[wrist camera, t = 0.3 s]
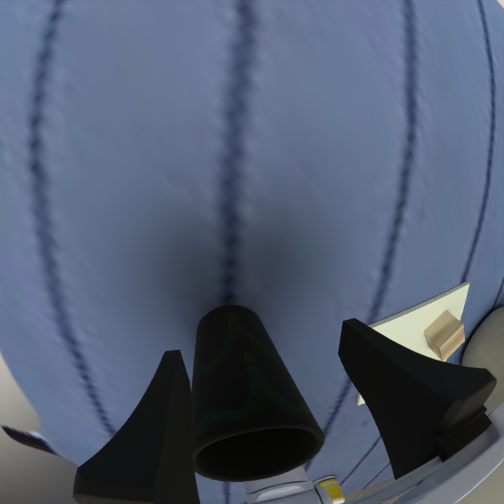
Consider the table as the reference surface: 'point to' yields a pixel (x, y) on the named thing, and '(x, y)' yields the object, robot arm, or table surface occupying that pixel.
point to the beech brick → (445, 335)
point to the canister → (489, 353)
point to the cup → (246, 403)
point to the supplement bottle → (331, 488)
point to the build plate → (420, 321)
